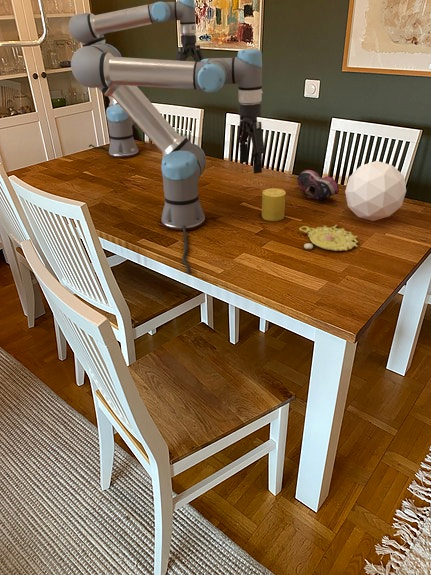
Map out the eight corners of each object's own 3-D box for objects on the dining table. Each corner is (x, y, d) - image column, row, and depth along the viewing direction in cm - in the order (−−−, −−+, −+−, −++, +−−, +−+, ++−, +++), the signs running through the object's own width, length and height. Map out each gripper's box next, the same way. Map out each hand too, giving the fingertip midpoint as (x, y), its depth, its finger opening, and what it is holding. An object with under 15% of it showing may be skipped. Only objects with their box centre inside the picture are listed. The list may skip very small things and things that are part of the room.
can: (278, 210, 162) (279, 187, 158) (288, 218, 156) (289, 194, 151) (258, 214, 160) (258, 190, 155) (267, 222, 154) (268, 197, 149)
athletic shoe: (306, 169, 182) (282, 176, 178) (340, 163, 162) (313, 171, 158) (311, 196, 184) (288, 204, 181) (345, 193, 165) (320, 202, 161)
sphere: (378, 240, 155) (398, 211, 136) (328, 211, 159) (341, 179, 141) (404, 201, 160) (427, 168, 141) (355, 174, 164) (371, 139, 145)
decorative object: (343, 255, 128) (285, 234, 139) (342, 262, 130) (284, 241, 140) (372, 230, 142) (317, 213, 152) (371, 237, 143) (316, 219, 153)
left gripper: (175, 36, 202) (179, 86, 213) (211, 33, 218) (212, 80, 229) (164, 36, 206) (168, 85, 217) (199, 33, 222) (201, 79, 233)
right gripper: (276, 108, 135) (274, 176, 146) (247, 96, 155) (248, 156, 167) (253, 110, 133) (253, 179, 145) (227, 98, 154) (229, 159, 165)
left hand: (190, 83), depth 223 cm, fingers open, 13 cm apart
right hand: (250, 167), depth 156 cm, fingers open, 13 cm apart
